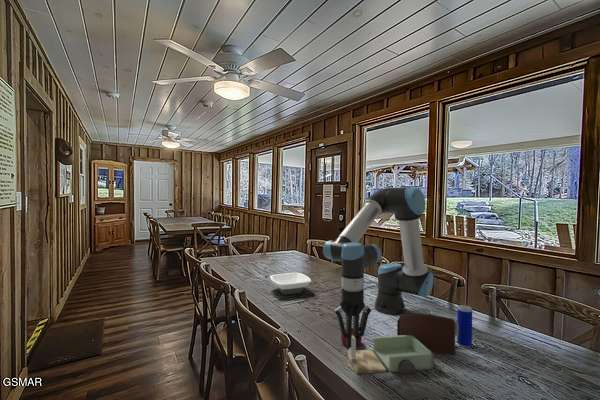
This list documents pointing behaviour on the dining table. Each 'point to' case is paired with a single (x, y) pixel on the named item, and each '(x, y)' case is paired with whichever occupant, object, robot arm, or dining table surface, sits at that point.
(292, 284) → the bowl
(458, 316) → the beverage can
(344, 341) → the tomato
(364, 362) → the panel
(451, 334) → the letter holder
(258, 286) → the dining table surface
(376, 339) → the box
